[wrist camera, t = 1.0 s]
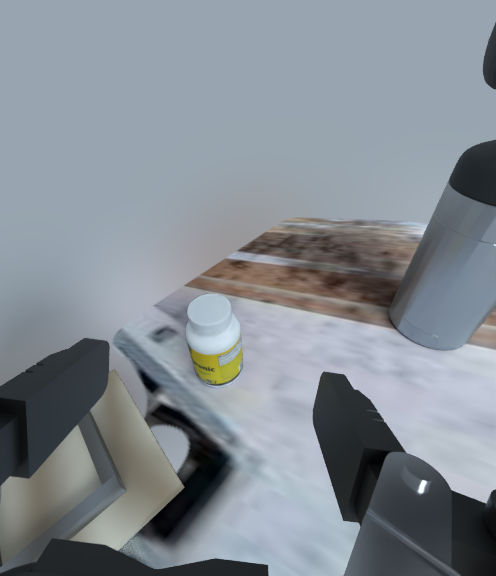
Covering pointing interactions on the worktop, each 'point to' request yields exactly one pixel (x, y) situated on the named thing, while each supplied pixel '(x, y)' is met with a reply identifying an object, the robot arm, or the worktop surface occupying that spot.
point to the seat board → (89, 484)
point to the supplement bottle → (214, 340)
